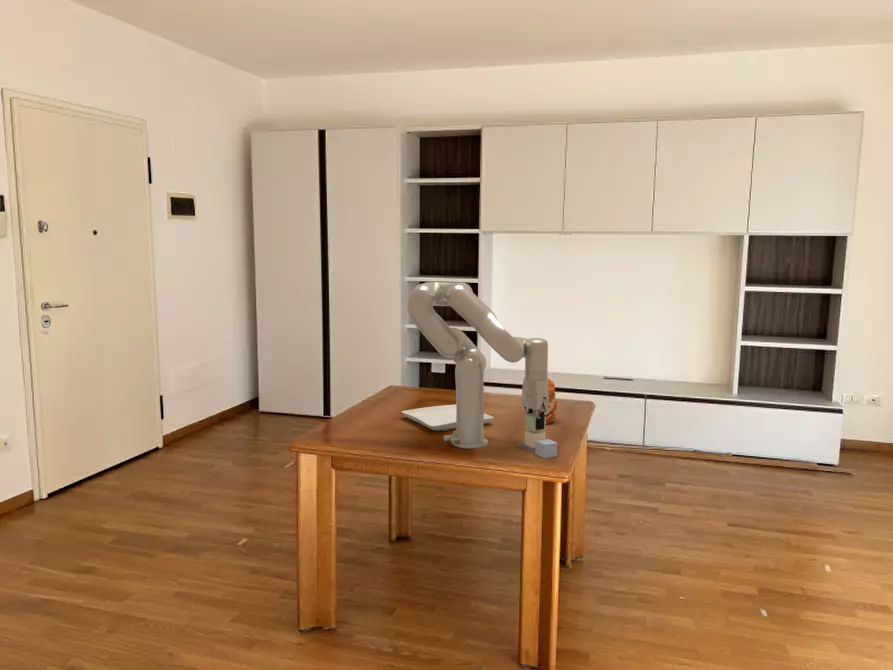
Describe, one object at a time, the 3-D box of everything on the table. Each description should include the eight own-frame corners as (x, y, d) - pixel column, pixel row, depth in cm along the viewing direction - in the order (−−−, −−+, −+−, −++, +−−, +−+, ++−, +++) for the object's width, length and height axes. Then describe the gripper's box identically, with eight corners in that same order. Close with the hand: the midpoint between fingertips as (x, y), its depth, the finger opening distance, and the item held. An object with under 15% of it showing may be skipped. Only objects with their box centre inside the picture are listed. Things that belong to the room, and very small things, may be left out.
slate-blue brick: (544, 459, 225) (544, 444, 224) (535, 455, 230) (535, 440, 229) (556, 457, 227) (557, 442, 227) (547, 453, 232) (548, 438, 231)
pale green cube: (533, 431, 235) (533, 417, 234) (525, 428, 239) (525, 413, 239) (545, 429, 237) (545, 415, 237) (537, 426, 242) (537, 412, 241)
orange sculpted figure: (561, 420, 273) (562, 375, 271) (551, 427, 264) (552, 380, 262) (535, 417, 279) (536, 372, 277) (524, 423, 270) (525, 377, 267)
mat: (531, 452, 232) (531, 451, 232) (514, 444, 241) (514, 443, 241) (555, 448, 237) (555, 447, 237) (538, 441, 246) (538, 439, 246)
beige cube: (533, 448, 236) (533, 434, 235) (524, 444, 240) (525, 430, 239) (545, 446, 238) (545, 432, 237) (536, 442, 242) (536, 428, 242)
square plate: (495, 426, 267) (495, 416, 266) (431, 436, 254) (431, 425, 253) (459, 411, 290) (459, 402, 290) (400, 419, 277) (400, 409, 277)
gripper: (512, 371, 241) (512, 423, 244) (541, 380, 227) (540, 435, 229) (530, 369, 245) (529, 420, 247) (560, 378, 230) (559, 432, 232)
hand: (535, 426), depth 238 cm, fingers closed on pale green cube, 4 cm apart
